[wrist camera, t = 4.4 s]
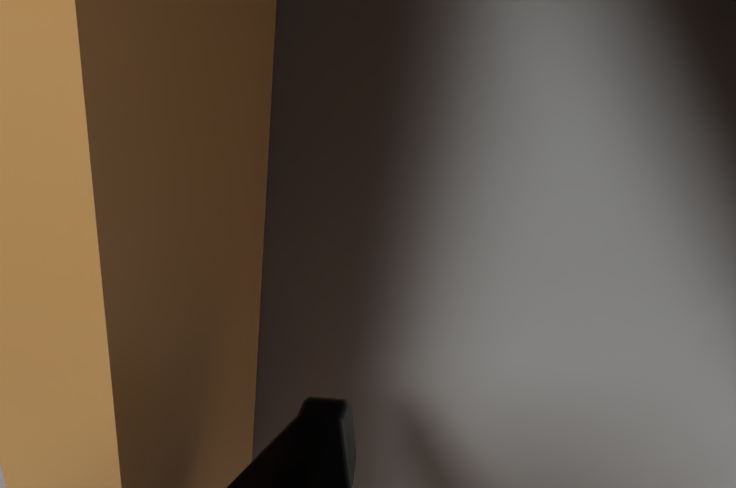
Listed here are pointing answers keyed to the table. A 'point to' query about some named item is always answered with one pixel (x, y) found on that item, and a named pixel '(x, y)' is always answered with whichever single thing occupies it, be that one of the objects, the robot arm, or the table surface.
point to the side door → (131, 239)
